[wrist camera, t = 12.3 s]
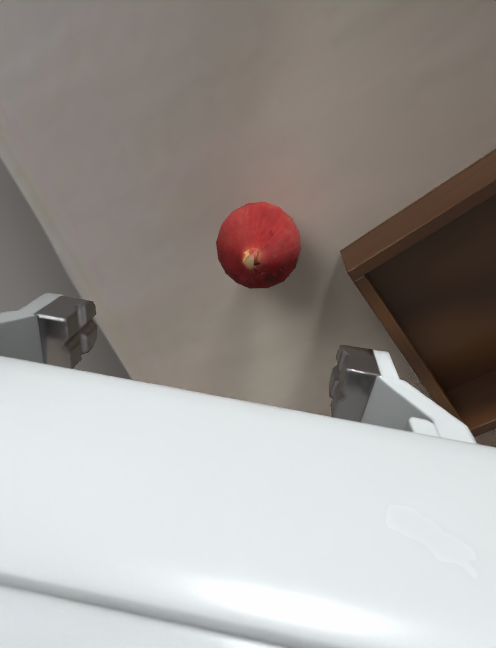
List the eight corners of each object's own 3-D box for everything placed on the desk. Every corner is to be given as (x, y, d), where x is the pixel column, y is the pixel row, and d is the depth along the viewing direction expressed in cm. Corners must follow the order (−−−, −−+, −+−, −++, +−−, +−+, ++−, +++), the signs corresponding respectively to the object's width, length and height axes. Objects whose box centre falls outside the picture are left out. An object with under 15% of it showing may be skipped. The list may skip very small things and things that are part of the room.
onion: (313, 251, 30) (316, 286, 23) (248, 281, 32) (232, 323, 24) (280, 181, 28) (272, 195, 21) (213, 217, 30) (185, 242, 23)
